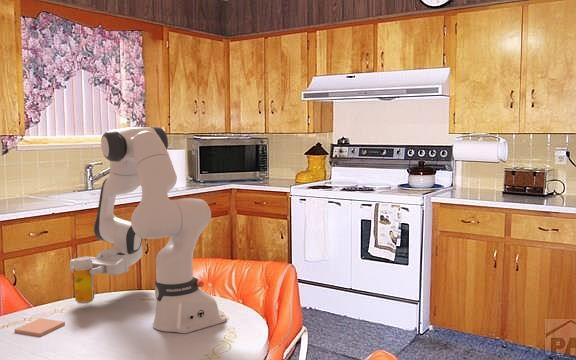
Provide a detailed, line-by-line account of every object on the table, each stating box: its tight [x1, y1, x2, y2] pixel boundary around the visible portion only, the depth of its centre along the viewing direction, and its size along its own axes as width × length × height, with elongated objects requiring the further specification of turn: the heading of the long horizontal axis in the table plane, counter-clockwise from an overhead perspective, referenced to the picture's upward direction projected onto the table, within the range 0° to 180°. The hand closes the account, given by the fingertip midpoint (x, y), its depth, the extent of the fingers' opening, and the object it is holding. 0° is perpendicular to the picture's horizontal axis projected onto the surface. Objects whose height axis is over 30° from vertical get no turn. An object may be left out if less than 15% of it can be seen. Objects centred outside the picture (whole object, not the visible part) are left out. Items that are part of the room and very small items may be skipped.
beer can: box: [73, 256, 95, 305], centre depth 185 cm, size 6×6×15 cm
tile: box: [14, 317, 66, 337], centre depth 168 cm, size 1×10×10 cm
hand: (81, 271), depth 184 cm, fingers closed on beer can, 6 cm apart
